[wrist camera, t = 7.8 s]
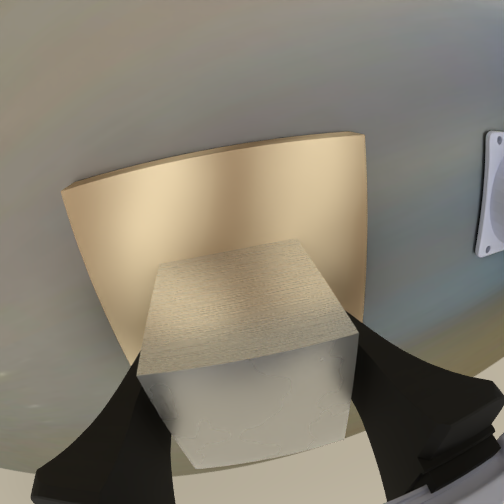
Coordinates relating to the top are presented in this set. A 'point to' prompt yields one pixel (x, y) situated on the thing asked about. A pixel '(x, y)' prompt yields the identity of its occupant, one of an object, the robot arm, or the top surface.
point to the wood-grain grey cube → (248, 355)
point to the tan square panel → (222, 217)
